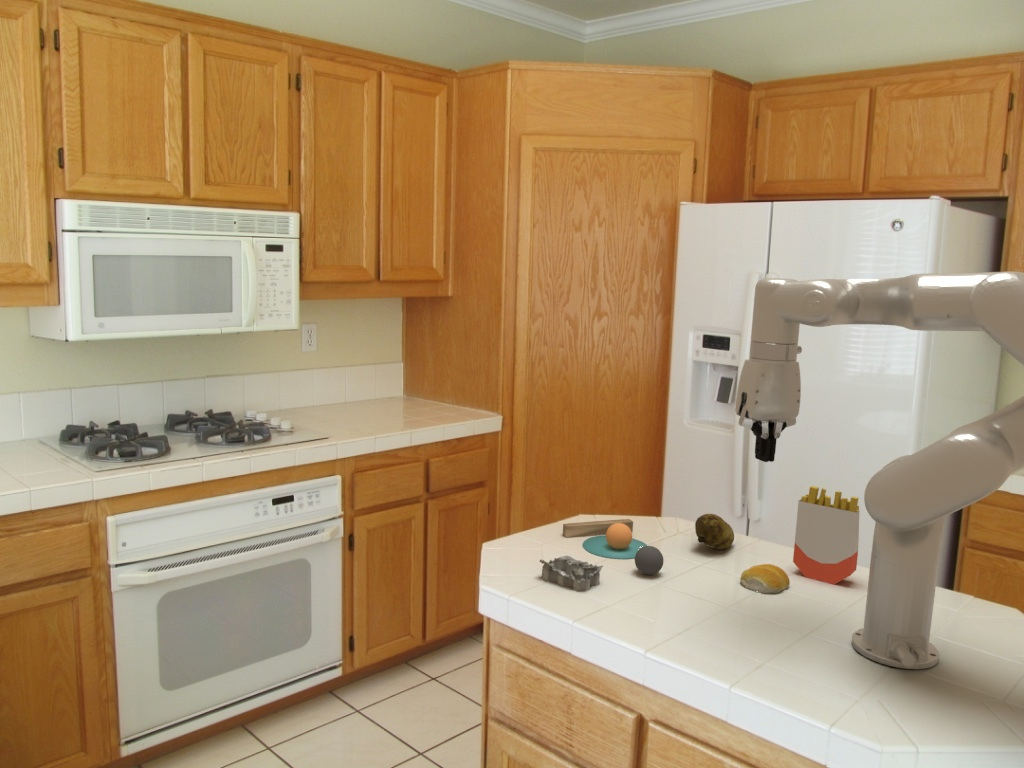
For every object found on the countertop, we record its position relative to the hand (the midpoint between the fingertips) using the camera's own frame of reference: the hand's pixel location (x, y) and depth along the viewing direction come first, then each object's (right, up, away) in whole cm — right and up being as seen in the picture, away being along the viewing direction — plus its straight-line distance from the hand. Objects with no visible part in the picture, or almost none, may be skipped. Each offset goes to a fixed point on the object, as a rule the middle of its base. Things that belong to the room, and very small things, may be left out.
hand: (764, 459), depth 143 cm
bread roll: (+5, -26, +16) cm, 31 cm away
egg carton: (-32, -25, +15) cm, 43 cm away
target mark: (-21, -22, +34) cm, 45 cm away
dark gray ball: (-16, -21, +19) cm, 33 cm away
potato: (0, -22, +36) cm, 42 cm away
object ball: (-21, -19, +33) cm, 43 cm away
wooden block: (-24, -20, +42) cm, 53 cm away
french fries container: (+18, -25, +21) cm, 37 cm away
